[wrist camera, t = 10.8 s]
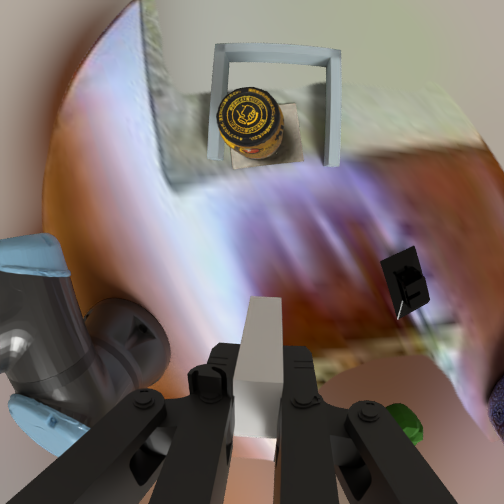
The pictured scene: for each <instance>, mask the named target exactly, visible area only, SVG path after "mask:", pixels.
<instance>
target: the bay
mask: <svg viewBox="0 0 504 504" xmlns="http://www.w3.org/2000/svg"><path fill="white" fill-rule="evenodd" d="M229 62H269V63H289V64H301V65H312V66H321V67H326V121H325V147H324V166H327V167H338V166H339V162H340V140H341V50H337V49H330V48H323V47H314V46H304V45H291V44H273V43H225V44H224V43H223V44H215V52H214V64H213V75H212V87H211V101H210V115H209V132H208V150H207V159H212V160H223V158H224V140H223V139H222V137H221V135H220V131H219V128H218V125H217V118H216V114H217V111H218V107H219V105H220V103H221V101H222V100H223V98H224V97H225V96H226V95H227V89H228V74H229Z"/></svg>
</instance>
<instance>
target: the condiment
mask: <svg viewBox="0 0 504 504" xmlns="http://www.w3.org/2000/svg"><path fill="white" fill-rule="evenodd" d="M216 118H217V125H218V128H219V131H220V135H221V137H222V139H223V140H224V141H225V143H226V144H227V145H228V146H229V147H230V148H231V157H232V165H233V169H240V168H247V167H255V166H264V165H272V164H281V163H291V162H301V161H304V158H303V151H302V144H301V137H300V129H299V122H298V115H297V108H296V103H293V104H283V105H278V104H277V102H276V100H275V99H274V98H273V97H272V96H271V95H270V94H269V93H268V92H267V91H264V90H262V89H258V88H255V87H245V88H239V89H236V90H234V91H233V92H231V93H230V94H228V95H226V96H225V97H224V98H223V100H222V101H221V103H220V105H219V107H218V111H217V114H216ZM276 153H277V154H276Z"/></svg>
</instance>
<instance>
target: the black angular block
mask: <svg viewBox="0 0 504 504" xmlns="http://www.w3.org/2000/svg"><path fill="white" fill-rule="evenodd" d="M380 263H381V266H382V269H383V272H384V276H385V279H386V282H387V285H388V288H389V292H390V295H391V299H392V302H393V305H394V309H395V313H396V316H397V319H400V318H402V317H403V316H405V315H407V314H409V313H411V312H413V311H414V310H416V309H418V308H420V307H422V306H423V305H425V304H427V303H428V302H429V301H430V297H429V293H428V288H427V284H426V280H425V277H424V276H423V274H422V270H421V266H420V263H419V259H418V256H417V252H416V249H415V246H412V247H410V248H408V249H406V250H404V251H401V252H399V253H397V254H395V255H393V256H391V257H388V258H386V259H384V260H382V261H381V262H380Z"/></svg>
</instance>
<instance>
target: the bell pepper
mask: <svg viewBox="0 0 504 504" xmlns="http://www.w3.org/2000/svg"><path fill="white" fill-rule="evenodd" d="M386 409H387V410H388V411H389V413H390V414H391V415H392V417H393V418H394V419H395V421H396V422H397V423H398V425H399V426H400V427H401V428H402V430H403V431H404V432H405V434H406V435H407V436H408V438H409V439H410V440H411V442H412V443H413V444H414V446H415V445H416V444H417V443H418V442H420V441H421V440H423V426H422V424H421V422H420V421H419V419H418V418H417V416H416V415H415V414H414V413H413V412H412V411H411V410H410V409H409V408H408V407H407V406H405V405H404V404H401V403H395V404H392V405H389V406H387V407H386Z"/></svg>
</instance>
